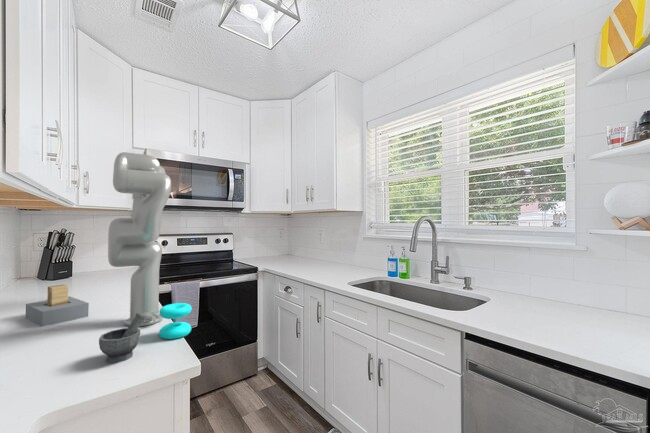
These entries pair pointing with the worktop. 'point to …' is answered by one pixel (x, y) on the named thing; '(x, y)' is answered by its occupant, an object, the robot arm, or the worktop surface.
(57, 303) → the oak post
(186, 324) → the donuts
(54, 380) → the worktop surface
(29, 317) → the well block
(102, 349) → the mortar and pestle
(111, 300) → the worktop surface
